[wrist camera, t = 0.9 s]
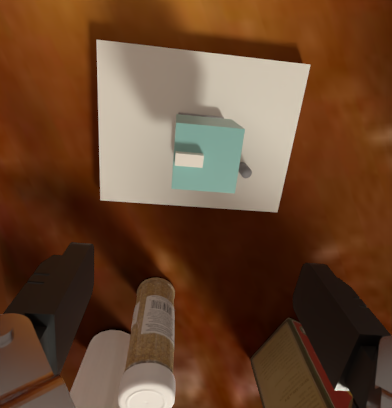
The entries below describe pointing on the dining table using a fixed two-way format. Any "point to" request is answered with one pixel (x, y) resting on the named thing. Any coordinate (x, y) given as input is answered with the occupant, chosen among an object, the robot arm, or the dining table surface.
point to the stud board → (196, 106)
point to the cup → (101, 371)
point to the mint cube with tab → (206, 154)
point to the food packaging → (293, 372)
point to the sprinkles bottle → (150, 349)
